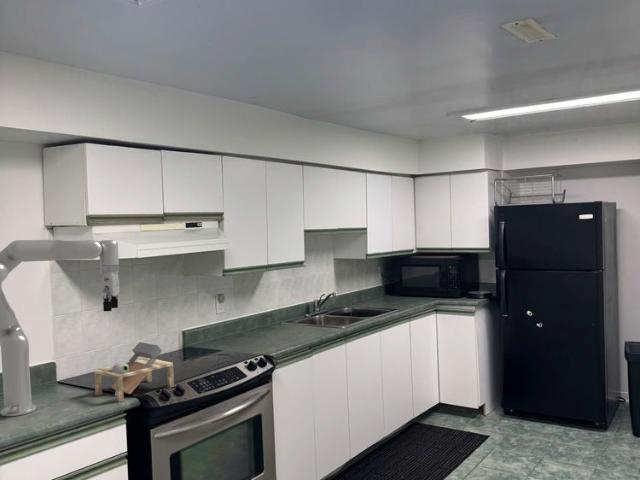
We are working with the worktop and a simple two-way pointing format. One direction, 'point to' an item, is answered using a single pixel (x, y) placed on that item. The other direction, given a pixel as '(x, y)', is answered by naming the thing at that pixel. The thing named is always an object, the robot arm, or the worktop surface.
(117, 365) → the lollipop
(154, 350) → the trapdoor
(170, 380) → the trapdoor frame
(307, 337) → the worktop surface
